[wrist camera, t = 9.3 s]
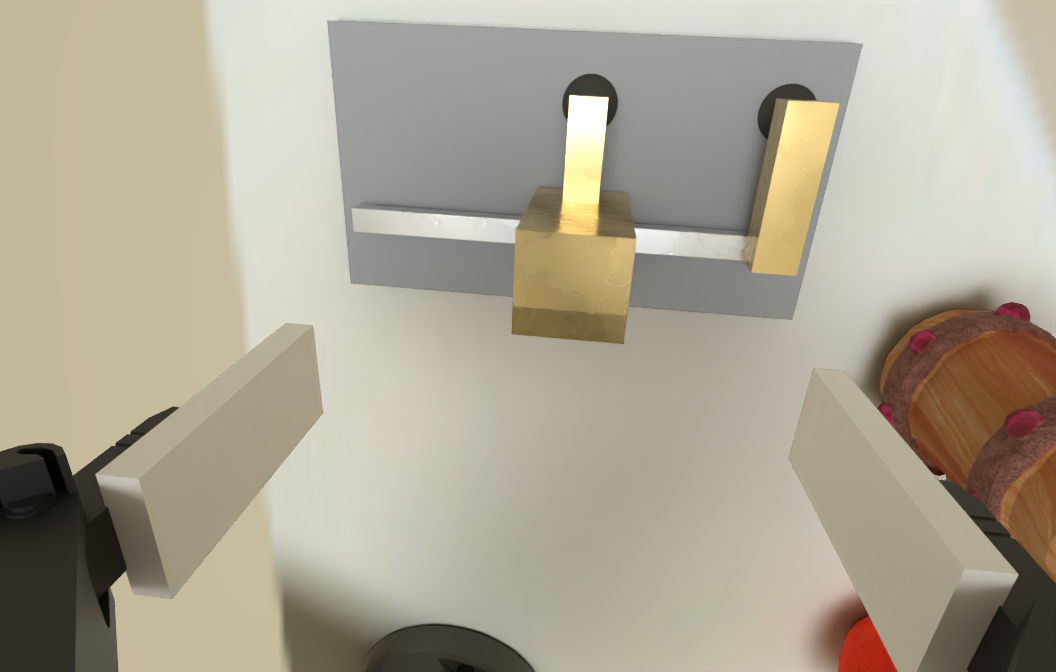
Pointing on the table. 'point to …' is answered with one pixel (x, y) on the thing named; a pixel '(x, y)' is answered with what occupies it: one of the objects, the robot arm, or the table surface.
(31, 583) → the robot arm
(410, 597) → the table surface
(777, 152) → the beam
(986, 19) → the table surface
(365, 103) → the flange plate
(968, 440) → the mug
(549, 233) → the block
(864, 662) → the apple
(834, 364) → the table surface
